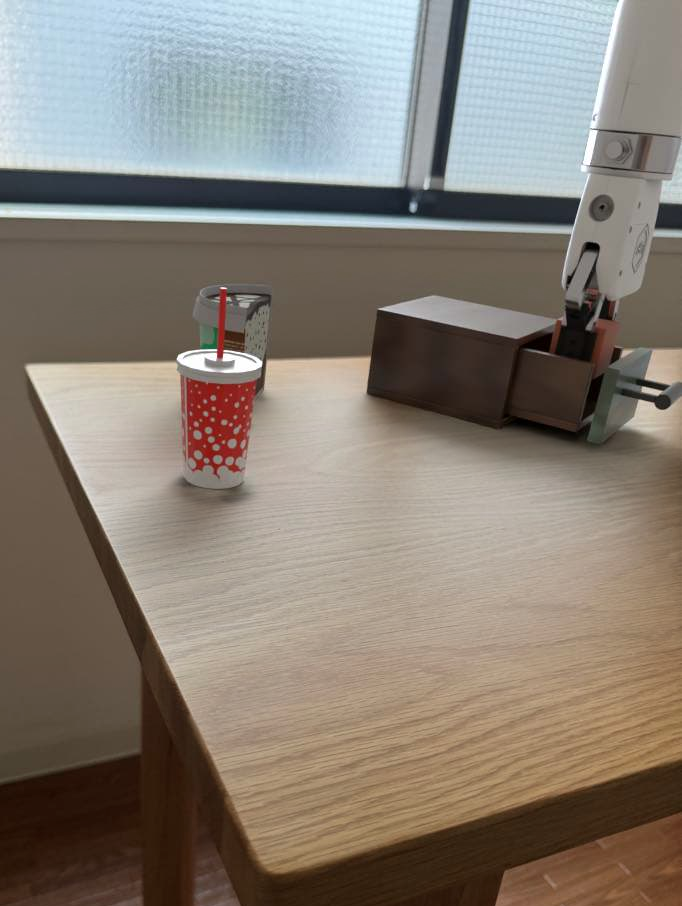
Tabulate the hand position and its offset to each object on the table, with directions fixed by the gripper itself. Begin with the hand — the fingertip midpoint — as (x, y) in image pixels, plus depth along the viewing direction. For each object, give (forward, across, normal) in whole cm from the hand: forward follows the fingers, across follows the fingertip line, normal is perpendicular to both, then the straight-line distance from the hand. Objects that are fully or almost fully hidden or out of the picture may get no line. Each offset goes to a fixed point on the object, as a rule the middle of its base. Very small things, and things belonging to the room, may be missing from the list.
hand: (578, 366), depth 80 cm
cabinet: (+6, 0, +12) cm, 13 cm away
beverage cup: (+6, -35, +16) cm, 39 cm away
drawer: (+5, 0, 0) cm, 5 cm away
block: (0, 0, 0) cm, 0 cm away
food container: (+6, -19, +28) cm, 34 cm away
